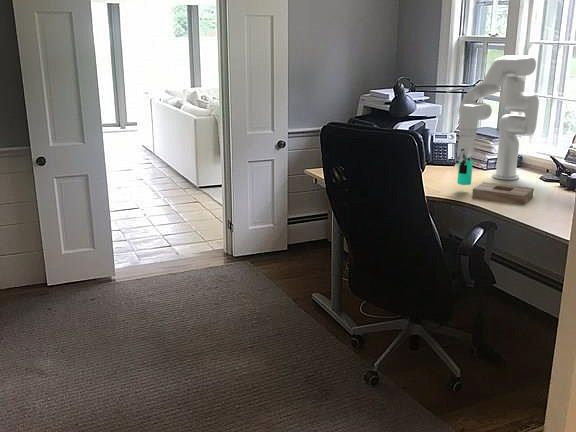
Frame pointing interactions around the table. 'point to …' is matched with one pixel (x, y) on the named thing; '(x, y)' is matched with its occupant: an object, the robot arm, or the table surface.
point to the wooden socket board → (503, 193)
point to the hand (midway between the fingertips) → (464, 171)
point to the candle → (465, 178)
